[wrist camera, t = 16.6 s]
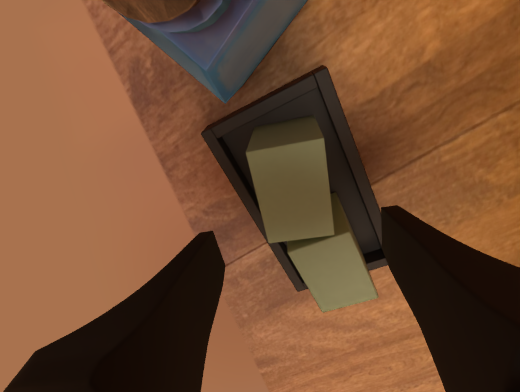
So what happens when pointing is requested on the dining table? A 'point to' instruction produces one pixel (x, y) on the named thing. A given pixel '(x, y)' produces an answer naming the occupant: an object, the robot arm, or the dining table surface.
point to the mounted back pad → (334, 265)
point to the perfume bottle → (212, 34)
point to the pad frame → (337, 155)
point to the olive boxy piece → (291, 179)
